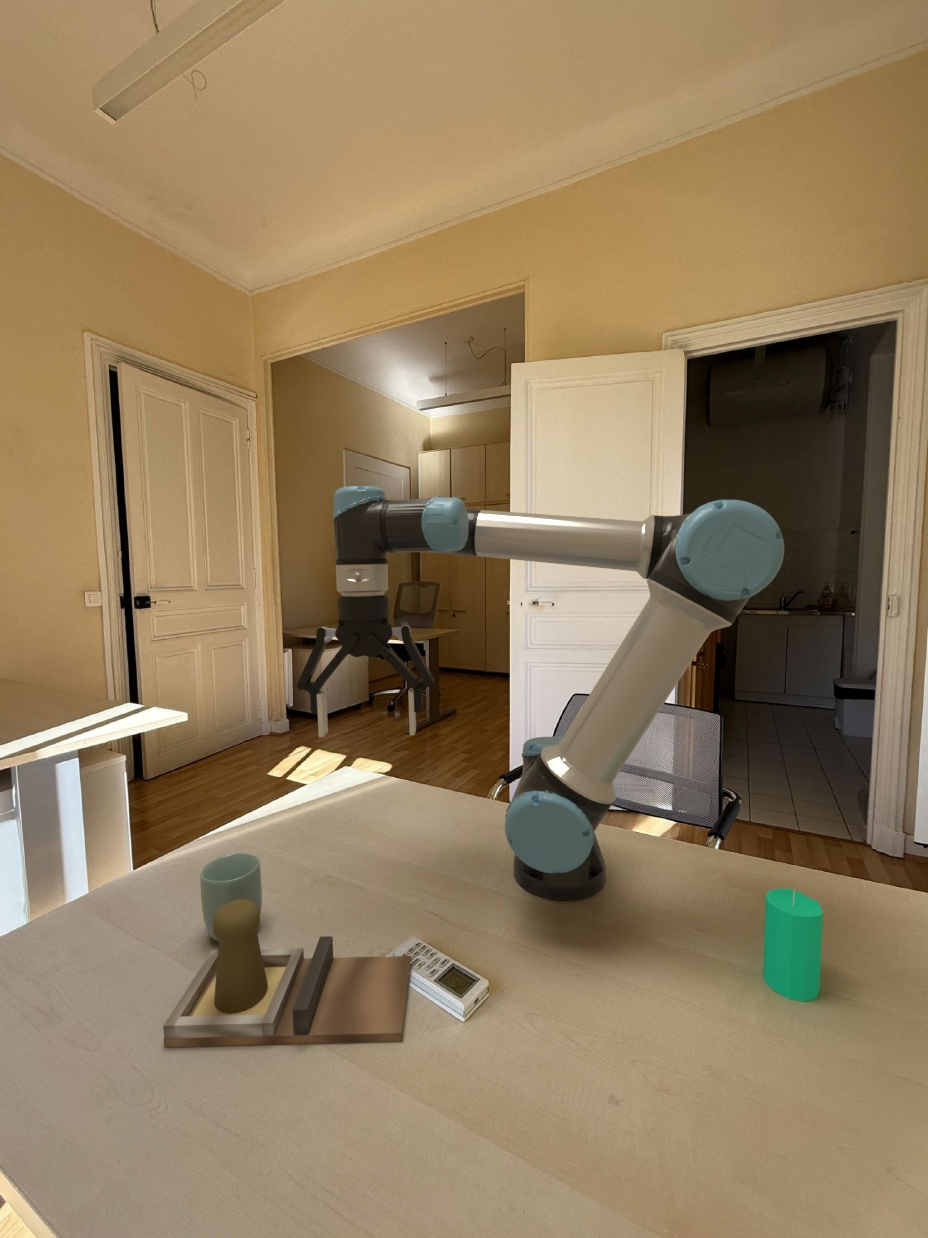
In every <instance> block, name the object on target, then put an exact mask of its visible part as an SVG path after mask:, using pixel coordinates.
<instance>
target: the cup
mask: <svg viewBox="0 0 928 1238" xmlns="http://www.w3.org/2000/svg"><path fill="white" fill-rule="evenodd" d="M199 877H200V878H199V882H200V883H199V885H200V886H199V887H200V896H201V897H200V899H201V908H202V909H201V910H202V916H203V922H204V927H205V928H206V931H207V933H208V934H209V936H210V937H211V938H212V939H213V940H215V941H217V942H219V940H217V938H216V937H215V935H214V932H213V919H214V917H215V915H216V913H217V911H218V910H219V909H220V908H221V907H222V906H224V905H226V904H227V903H229V902H232V901H235V900H242V899H245V900H251V901H253V902H254V903H255V904H256V905H257V906H258V908H259V911H260V915H261V913H262V907H263V883H262V866H261V861H260V858H259V857H258V856H257V855H255V854H252V853H247V852H246V853H245V852H235V853H228V854H225V855H223V856H220V857H217V858H215V859H214V860H211V861H210V862H208V863H207V864H206V865H205V866H204V867H203V869H202V870H201V872H200V874H199Z"/></svg>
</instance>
